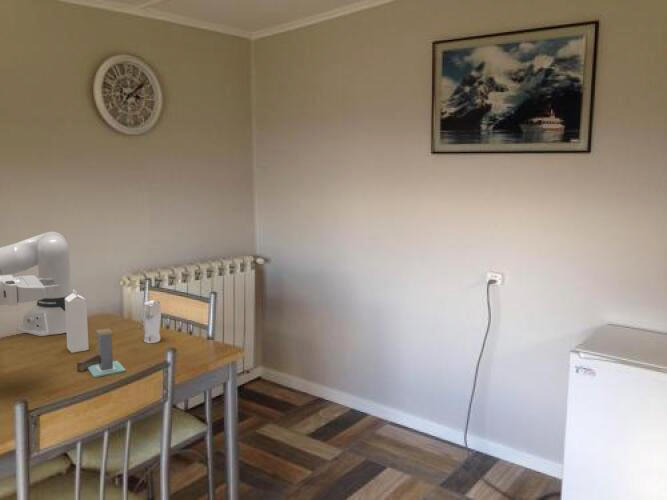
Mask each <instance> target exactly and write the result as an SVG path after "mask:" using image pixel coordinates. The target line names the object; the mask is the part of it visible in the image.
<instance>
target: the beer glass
mask: <svg viewBox="0 0 667 500" xmlns="http://www.w3.org/2000/svg"><path fill="white" fill-rule="evenodd" d="M141 304H142V305H141V318H142V323H143V328H144V337H143V338H144V339H143V342H144V343H146V344H155V343H159V342H160V341H161V340H162V338H161V335H160V334H161V333H160V328H161V322H162V321H161V320H162V319H161V318H162V306H161V301H158V300H147V301H143V302H142V303H141Z"/></svg>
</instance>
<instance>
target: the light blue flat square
mask: <svg viewBox="0 0 667 500" xmlns="http://www.w3.org/2000/svg"><path fill="white" fill-rule="evenodd" d="M87 370H88V372H89V373H90V375H92V377H93V378H99V377H103V376H104V377H105V376H111V375H115V374H119V373H124V372H127V371H126V370H127V369H126V368H125V367H124V366H123V365H122V364H121V363H120V362H119V360H113V369H107V370H101V369H100V368H99V363H98V364H96V365H91V366H90V367H88V369H87Z"/></svg>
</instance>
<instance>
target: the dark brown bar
mask: <svg viewBox="0 0 667 500" xmlns="http://www.w3.org/2000/svg"><path fill="white" fill-rule="evenodd" d="M96 364H99V359H98V351H96V352H95V353H93V354H91V355H89V356H86V357H85V358H83V359H80V360H79V361H78V362H76V369H77V372H79V373H80V372H81V373H83V372H85V371H87V370H88V367H90V366H91V365H96Z"/></svg>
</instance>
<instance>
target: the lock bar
mask: <svg viewBox="0 0 667 500" xmlns="http://www.w3.org/2000/svg"><path fill="white" fill-rule="evenodd" d="M96 335H97V352H98V359H99V363H98V364H99V368H100V369H101V370H107V369H113V361H114V359H113V341H112V340H113V337H112V335H113V331H112V330H111V328H109V327H108V328H102V329H101V328H100V329H96Z"/></svg>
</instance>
